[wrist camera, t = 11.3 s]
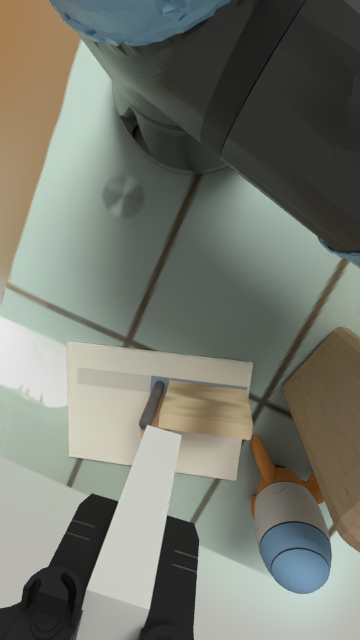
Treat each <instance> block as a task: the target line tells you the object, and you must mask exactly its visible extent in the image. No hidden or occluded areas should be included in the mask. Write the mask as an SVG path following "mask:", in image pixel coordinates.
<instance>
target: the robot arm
mask: <svg viewBox="0 0 360 640" xmlns="http://www.w3.org/2000/svg"><path fill="white" fill-rule="evenodd" d="M50 2H51V4H52V5H53V7H54V8H55V9H56V10H57V11H58V12H59V13H60V15H61V17H62V19H63V20H64V21H65V22H66V23H67V24H68V25H69V26H70V27H71V28H72V29H73V30H75V31H76V32H77V33H78V35H79V36H80V37H81V39H82V40H83V41H84V43H85V44H86V46H87V47H88V48H89V50H90V51H91V52H92V54H93V55H94V56H95V58H96V59H97V61H98V62H99V63H100V65H101V66H102V67H103V69H104V70H105V71H106V73H107V74H108V76H109V77H110V78H111V80H112V89H113V96H114V101H115V105H116V109H117V112H118V115H119V117H120V120H121V122H122V124H123V126H124V128H125V130H126V132H127V134H128V135H129V137H130V138H131V139H132V141H133V142H134V143H135V145H136V146H137V147H138V148H139V149H140V150H141V151H142V152H143V153H144V154H145V155H146V156H147V157H148V158H150V159H151V160H152V161H154V162H155V163H156V164H158V165H160V166H162V167H164V168H166V169H168V170H171V171H174V172H177V173H182V174H193V175H195V174H206V173H210V172H214V171H217V170H220V169H222V168H225V167H227V166H229V167H231V168H232V169H233V170H234V171H236V172H237V173H238V174H239V175H241V176H242V177H243V178H244V179H246V180H247V181H248V182H249V183H251V184H252V185H253V186H255V187H256V188H257V189H258V190H260V191H261V192H262V193H263V194H265V195H266V196H267V197H268V198H270V199H271V200H272V201H273V202H275V203H276V204H277V205H278V206H280V207H281V208H282V209H283V210H285V211H286V212H287V213H289V214H290V215H291V216H292V217H294V218H295V219H296V220H297V221H299V222H300V223H301V224H302V225H304V226H305V227H306V228H307V229H309V230H310V231H311V232H312V233H314V234H315V235H316V236H318V239H319V241H320V243H321V244H322V245H323V246H324V247H325V248H326V249H327V250H328V251H330V252H331V253H335V254H336V255H338V256H339V257H342V258H346V259H347V260H349V261H350V262H352V263H353V264H354V265H356V266H357V267H359V268H360V0H50ZM181 436H182V435H180V434H176V433H173V432H169V431H166V430H163V429H159V428H156V427H153V426H149V425H147V427H146V429H145V432H144V435H143V438H142V440H141V443H140V446H139V448H138V451H137V454H136V456H135V459H134V462H133V465H132V467H131V470H130V473H129V475H128V478H127V481H126V484H125V486H124V489H123V492H122V494H121V497H120V500H119V502H118V501H115V500H112V499H108V498H105V497H102V496H99V495H95V494H91V495H90V496H89V497H87V498H86V499H85V500H84V501H83V502H82V503H81V504H80V505H79V507H78V509H77V511H76V513H75V515H74V517H73V519H72V521H71V523H70V525H69V527H68V529H67V531H66V533H65V535H64V537H63V538H62V541H61V542H60V544H59V546H58V549H57V550H56V552H55V554H54V556H53V558H52V560H51V562H50V564H49V566H48V567H47V568H43V569H41V570H40V571H38V572H37V573H36V574H34V575H33V576H32V577H31V578H30V579H29V581H28V582H27V583H26V585H25V586H24V588H23V594H22V600H21V602H20V603H18V604H15V605H13V606H11V607H6V608H1V609H0V640H194V635H193V625H194V609H195V595H196V579H197V564H198V560H197V559H198V548H199V538H198V535H197V531H196V528H195V525H194V524H193V523H190V522H187V521H184V520H180V519H177V518H174V517H171V516H167V512H168V507H169V501H170V496H171V491H172V485H173V480H174V474H175V469H176V463H177V458H178V453H179V447H180V442H181Z"/></svg>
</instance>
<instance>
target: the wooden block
mask: <svg viewBox="0 0 360 640" xmlns="http://www.w3.org/2000/svg"><path fill="white" fill-rule="evenodd" d="M282 392H283V394H284V397H285V399H286V402H287V405H288V407H289V410H290V412H291V415H292V417H293V420H294V423H295V425H296V428H297V430H298V433H299V436H300V438H301V441H302V443H303V446H304V448H305V451H306V454H307V456H308V459H309V461H310V464H311V466H312V469H313V472H314V474H315V477H316V479H317V482H318V485H319V487H320V490H321V492H322V495H323V497H324V500H325V503H326V505H327V508H328V510H329V513H330V516H331V518H332V521H333V523H334V526H335V528H336V530H337V531H338V533H339V534H340V536H341V537H342V538H343V539H344V540H345V541H346V542H347V543H348V544H349V545H350V546H352V547H353V548H354V549H356V550H357V551H359V552H360V337H358V336H357V335H356V334H354V333H353V332H352V331H350V330H349V329H346V328H342V327H339V328H337V329H336V330H334V331H333V332H332V333H331V334H330V335H329V336H328V338H327V339H326V340H325V341H324V342H323V343H322V344H321V345H320V346H319V347H318V348H317V349H316V350H315V351H314V353H313V354H312V355H311V356H310V357H309V358H308V359H307V360H306V361H305V362H304V363H303V364H302V365H301V367H300V368H299V369H298V370H297V371H296V372H295V373H294V374H293V375H292V376H291V377H290V378H289V379H288V380H287V382H286V383H285V384H284V386H283V389H282Z"/></svg>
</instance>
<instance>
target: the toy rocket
mask: <svg viewBox="0 0 360 640" xmlns="http://www.w3.org/2000/svg"><path fill="white" fill-rule="evenodd" d="M252 451H253V454H254V458H255V461H256V463H257V466H258V468H259V470H260V473H261V475H262V477H261V479H260V482H259V486H258V490H257V494H256V496H252V499H251V508H252V515H253V517H254V520H255V529H256V537H257V542H258V547H259V550H260V554H261V556H262V559H263V561H264V563H265V565H266V567H267V569H268V571H269V572H270V573H271V575H272V576H273V577H274V579H275V580H276V582H277V583H279V584H280V585H281V586H283V587H284V588H285V589H287V590H289V591H292V592H295V593H298V594H308V593H312V592H314V591H316V590H318V589H319V588H320V587H322V586H323V585H324V584H325V582H326V581H327V580H328V577H329V572H330V567H331V557H332V555H331V544H330V538H329V534H328V530H327V526H326V523H325V521H324V518H323V516H322V513H321V511H320V508H319V506H318V504H320V503H322V502H324V501H325V500H324V497H323V495H322V492H321V490H320V487H319V485H318V482H317V479H316V477H315V474H314V473H313V474H312V475H311V476H310V477H309V479H308V482H306V481H303V480H300V479H299V478H298V476H297V475H296V474H295V473H293V472H292V471H290V470H288V469H286V468H285V467H284V466H281V465H273V463H272V461H271V459H270V457H269V455H268V453H267V451H266V449H265V448H264V446H263V444H262V441H261V439H260V437H259V436H257V435H254V436H253V438H252Z"/></svg>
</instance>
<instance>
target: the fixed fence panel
mask: <svg viewBox="0 0 360 640" xmlns="http://www.w3.org/2000/svg"><path fill="white" fill-rule="evenodd" d="M164 387H165V384H164V383H163V382H162V381H157V382H156V383H155V385H154V387H153V390H152V392H151V395H150V397H149V399H148V402H147V404H146V407H145V409H144V411H143V414H142V416H141V419H140V421H139V426H140V428H141V429H144V430H145V429H146V427H147V425H149V426H151V425H152V422H153V419H154V416H155V413H156V410H157V407H158V404H159V401H160V399H161V396H162V393H163V390H164ZM159 428H164V429H171V430H178V431H186V432H193V433H200V434H208V435H215V436H222V437H230V438H237V439H245V440H251V436H252V430H253V422H252V416H251V410H250V404H249V399H248V393H247V390H244V389H236V388H228V387H220V386H211V385H203V384H195V383H187V382H179V381H171V380H170V383H169V386H168V389H167V392H166V395H165V398H164V401H163V404H162V407H161V410H160V413H159Z"/></svg>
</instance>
